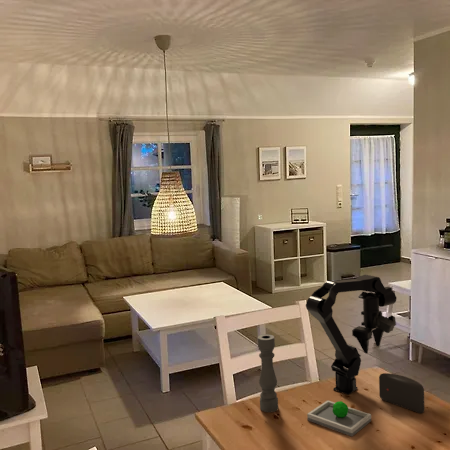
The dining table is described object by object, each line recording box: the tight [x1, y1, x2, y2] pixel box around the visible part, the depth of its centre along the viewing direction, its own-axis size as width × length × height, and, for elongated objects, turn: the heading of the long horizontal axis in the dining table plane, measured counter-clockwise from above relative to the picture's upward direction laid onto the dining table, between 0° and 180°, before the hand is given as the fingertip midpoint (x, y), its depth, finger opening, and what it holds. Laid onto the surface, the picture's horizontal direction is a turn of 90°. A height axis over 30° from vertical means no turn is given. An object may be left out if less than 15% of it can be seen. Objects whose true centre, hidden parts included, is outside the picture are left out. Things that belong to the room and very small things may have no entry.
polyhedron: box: [333, 400, 349, 418], centre depth 160 cm, size 5×5×5 cm
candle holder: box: [257, 334, 279, 413], centre depth 169 cm, size 6×6×25 cm
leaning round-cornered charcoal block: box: [378, 372, 425, 414], centre depth 167 cm, size 16×5×9 cm, turn 39°
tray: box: [306, 400, 372, 437], centre depth 159 cm, size 16×12×2 cm
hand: (372, 349), depth 186 cm, fingers open, 9 cm apart
